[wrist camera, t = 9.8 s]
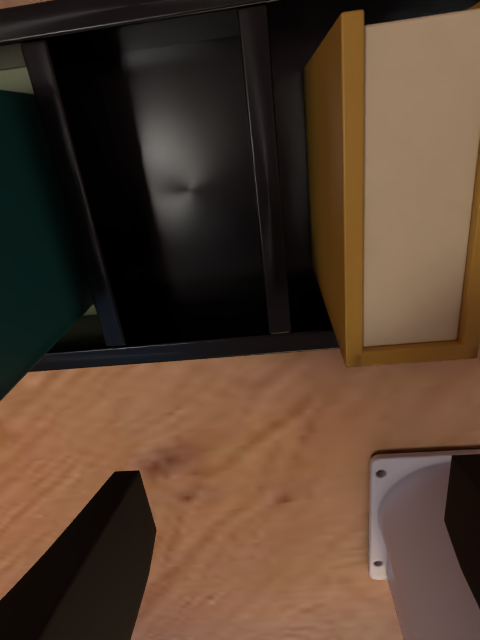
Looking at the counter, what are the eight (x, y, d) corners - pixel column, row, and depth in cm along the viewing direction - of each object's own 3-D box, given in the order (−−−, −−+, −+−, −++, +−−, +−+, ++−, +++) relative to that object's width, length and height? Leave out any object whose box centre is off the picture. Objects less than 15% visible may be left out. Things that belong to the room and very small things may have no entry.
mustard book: (386, 258, 17) (478, 358, 10) (312, 265, 17) (345, 368, 10) (392, 56, 14) (530, -18, 7) (302, 69, 14) (340, 11, 7)
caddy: (427, 296, 18) (468, 339, 14) (17, 331, 20) (-38, 377, 16) (451, -24, 13) (520, -80, 10) (-86, 60, 15) (-195, 40, 12)
